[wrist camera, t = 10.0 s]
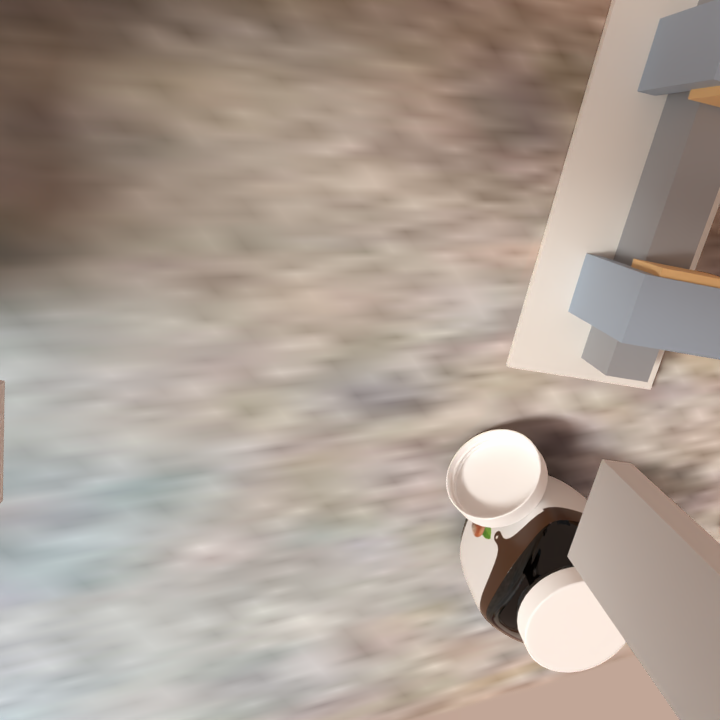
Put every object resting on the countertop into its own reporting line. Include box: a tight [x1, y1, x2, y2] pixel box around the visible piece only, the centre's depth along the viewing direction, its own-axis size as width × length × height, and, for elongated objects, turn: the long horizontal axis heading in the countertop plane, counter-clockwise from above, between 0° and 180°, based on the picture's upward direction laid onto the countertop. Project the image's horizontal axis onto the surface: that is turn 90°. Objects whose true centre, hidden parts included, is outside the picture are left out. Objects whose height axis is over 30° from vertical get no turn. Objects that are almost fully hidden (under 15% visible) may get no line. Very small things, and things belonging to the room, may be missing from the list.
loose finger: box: [568, 253, 720, 360], centre depth 38 cm, size 7×4×7 cm, turn 79°
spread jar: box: [446, 429, 626, 672], centre depth 41 cm, size 12×11×12 cm
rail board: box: [506, 0, 720, 389], centre depth 37 cm, size 11×27×4 cm, turn 169°
